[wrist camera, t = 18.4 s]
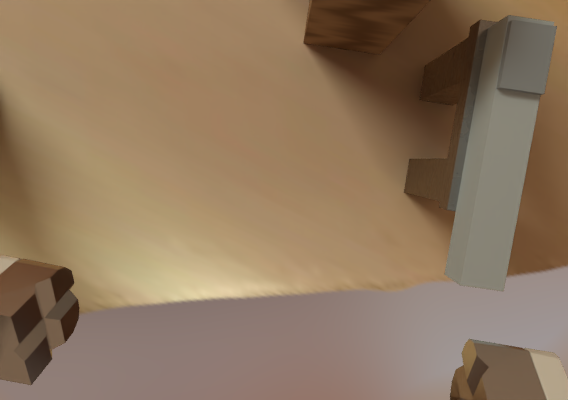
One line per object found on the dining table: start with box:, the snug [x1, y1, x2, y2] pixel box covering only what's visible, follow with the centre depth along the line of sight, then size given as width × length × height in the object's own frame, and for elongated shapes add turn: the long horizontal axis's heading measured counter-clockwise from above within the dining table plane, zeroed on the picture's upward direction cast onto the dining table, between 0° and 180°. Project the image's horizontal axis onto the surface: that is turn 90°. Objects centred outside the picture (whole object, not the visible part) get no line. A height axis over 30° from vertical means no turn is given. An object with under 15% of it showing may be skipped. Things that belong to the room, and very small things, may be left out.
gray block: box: [445, 15, 557, 291], centre depth 37 cm, size 21×4×4 cm, turn 172°
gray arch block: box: [404, 20, 497, 211], centre depth 47 cm, size 5×16×16 cm, turn 172°
